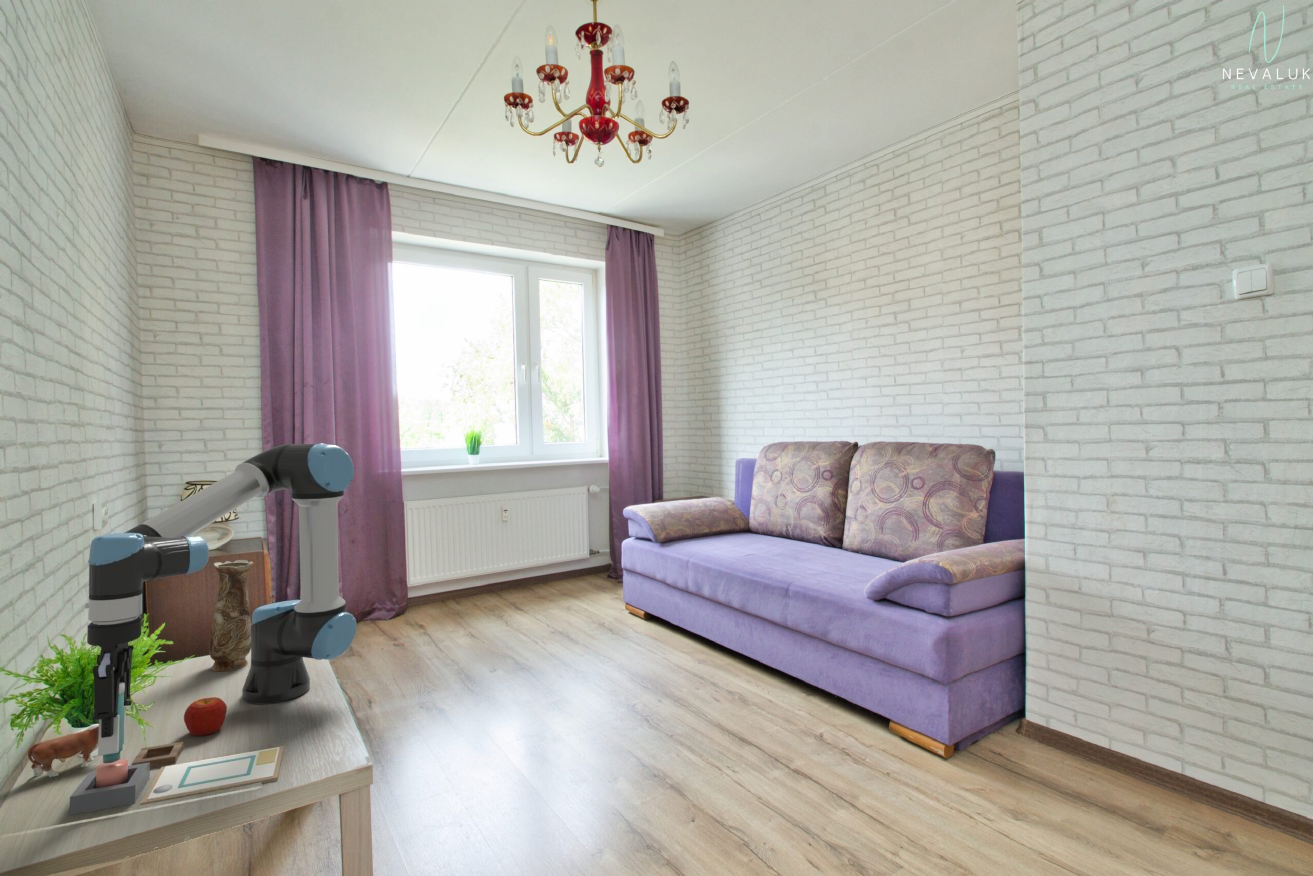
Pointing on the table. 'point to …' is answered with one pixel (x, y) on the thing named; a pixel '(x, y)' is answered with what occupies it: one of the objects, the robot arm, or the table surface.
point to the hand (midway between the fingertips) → (111, 748)
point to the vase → (231, 617)
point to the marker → (116, 756)
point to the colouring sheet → (215, 774)
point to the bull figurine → (64, 749)
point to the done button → (111, 773)
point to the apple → (205, 716)
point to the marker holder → (159, 755)
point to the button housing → (109, 791)
